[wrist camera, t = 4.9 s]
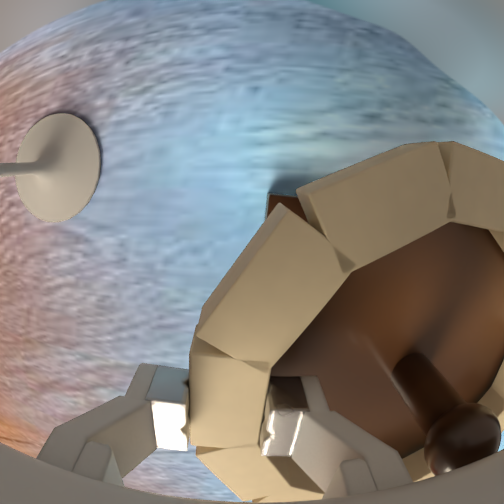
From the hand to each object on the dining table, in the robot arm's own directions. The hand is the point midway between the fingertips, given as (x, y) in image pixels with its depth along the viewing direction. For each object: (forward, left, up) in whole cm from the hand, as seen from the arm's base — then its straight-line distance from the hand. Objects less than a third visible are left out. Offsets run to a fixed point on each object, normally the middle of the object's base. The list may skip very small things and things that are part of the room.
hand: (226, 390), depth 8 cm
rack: (0, +7, -11) cm, 13 cm away
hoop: (0, +7, -1) cm, 7 cm away
